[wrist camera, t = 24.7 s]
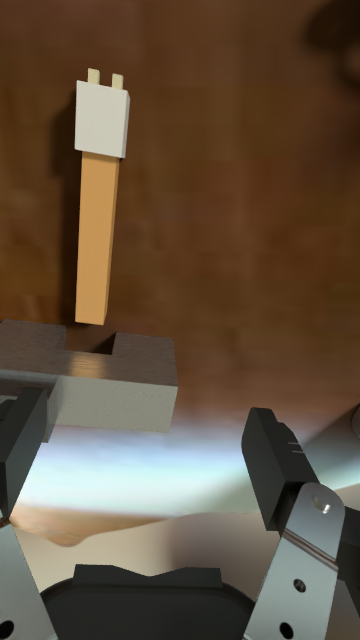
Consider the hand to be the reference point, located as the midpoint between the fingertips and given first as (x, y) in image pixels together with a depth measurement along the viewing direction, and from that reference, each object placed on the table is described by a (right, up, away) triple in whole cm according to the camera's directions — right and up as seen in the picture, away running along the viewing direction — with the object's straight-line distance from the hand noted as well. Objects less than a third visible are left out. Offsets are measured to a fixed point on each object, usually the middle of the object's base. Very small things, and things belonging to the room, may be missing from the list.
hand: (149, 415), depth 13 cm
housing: (-10, 0, +29) cm, 30 cm away
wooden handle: (-7, +15, +22) cm, 27 cm away
